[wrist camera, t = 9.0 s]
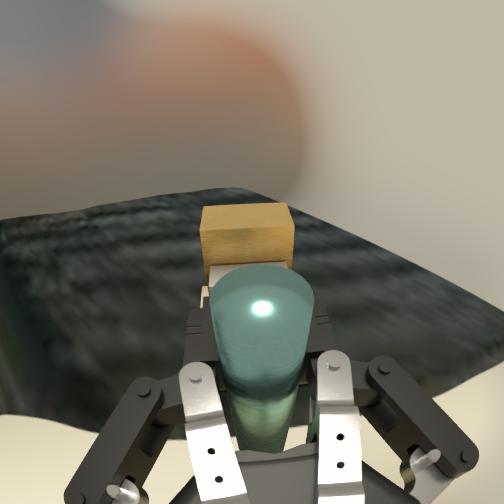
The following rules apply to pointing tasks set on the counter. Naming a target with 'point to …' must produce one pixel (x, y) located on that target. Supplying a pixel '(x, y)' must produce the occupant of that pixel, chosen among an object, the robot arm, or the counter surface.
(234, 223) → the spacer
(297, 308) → the shaft
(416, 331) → the counter surface
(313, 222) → the counter surface
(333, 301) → the counter surface
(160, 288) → the counter surface
